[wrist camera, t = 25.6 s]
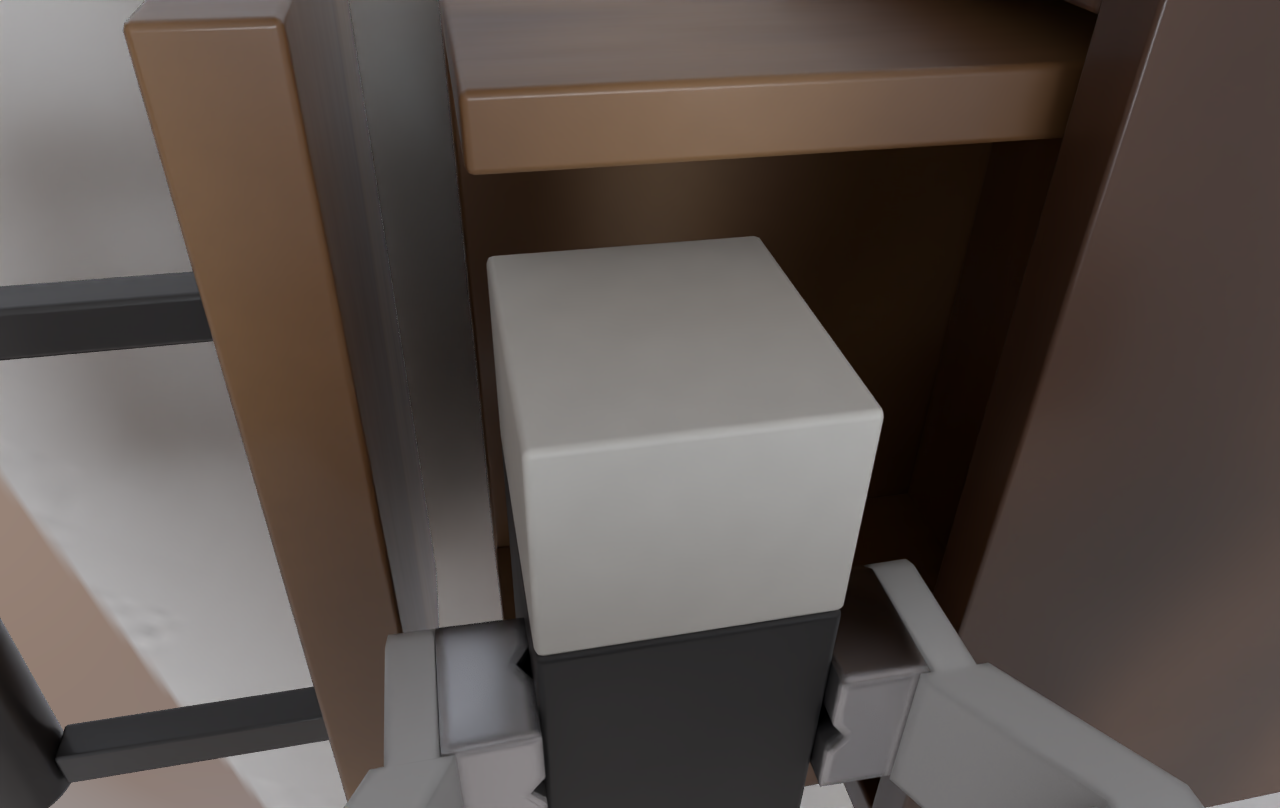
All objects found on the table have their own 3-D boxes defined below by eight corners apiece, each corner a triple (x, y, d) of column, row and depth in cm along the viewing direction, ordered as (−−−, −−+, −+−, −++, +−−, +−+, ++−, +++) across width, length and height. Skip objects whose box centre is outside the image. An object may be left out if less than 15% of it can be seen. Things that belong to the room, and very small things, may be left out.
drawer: (123, 612, 20) (10, 978, 14) (-196, -105, 12) (-750, 50, 6) (906, 505, 23) (1078, 768, 17) (1056, -117, 15) (1465, -21, 9)
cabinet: (730, 520, 23) (881, 877, 16) (797, -166, 15) (1183, -64, 8) (1207, 456, 26) (1525, 741, 18) (1500, -165, 17) (2300, -88, 10)
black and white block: (711, 691, 15) (781, 902, 12) (524, 723, 14) (554, 951, 12) (759, 232, 10) (888, 411, 8) (485, 253, 10) (521, 454, 7)
